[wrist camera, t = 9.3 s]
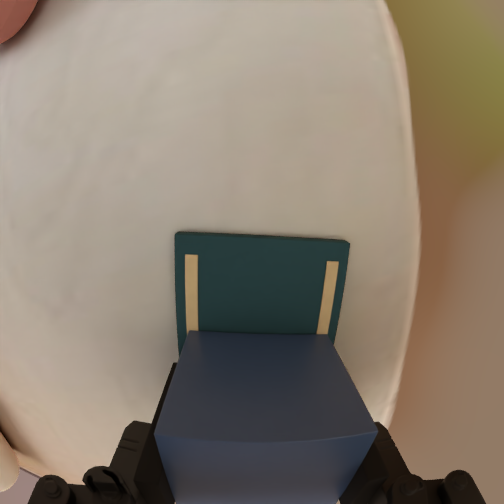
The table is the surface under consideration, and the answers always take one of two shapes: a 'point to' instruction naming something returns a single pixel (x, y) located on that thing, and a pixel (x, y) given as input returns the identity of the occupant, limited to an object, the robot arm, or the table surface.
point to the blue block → (261, 421)
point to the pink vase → (14, 16)
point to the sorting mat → (258, 284)
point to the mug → (7, 465)
